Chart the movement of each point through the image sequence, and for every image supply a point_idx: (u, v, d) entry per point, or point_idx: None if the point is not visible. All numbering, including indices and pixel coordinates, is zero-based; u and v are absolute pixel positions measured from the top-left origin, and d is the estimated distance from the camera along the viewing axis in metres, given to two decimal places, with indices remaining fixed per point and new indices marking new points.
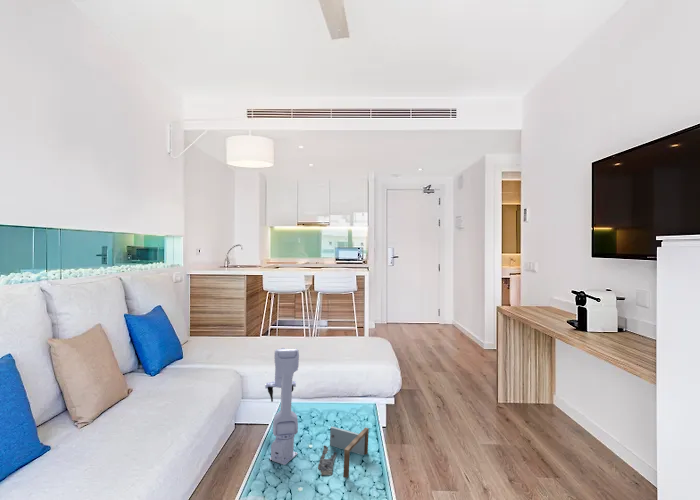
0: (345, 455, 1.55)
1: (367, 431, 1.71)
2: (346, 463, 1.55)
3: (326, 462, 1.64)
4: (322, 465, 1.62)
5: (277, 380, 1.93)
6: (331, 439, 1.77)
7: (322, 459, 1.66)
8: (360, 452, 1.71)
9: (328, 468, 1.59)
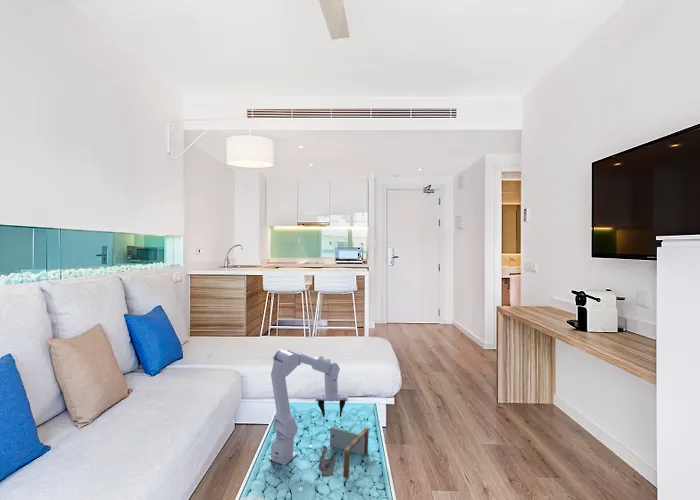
0: (345, 455, 1.55)
1: (367, 431, 1.71)
2: (346, 463, 1.55)
3: (326, 462, 1.64)
4: (322, 465, 1.62)
5: (327, 393, 1.81)
6: (331, 439, 1.77)
7: (322, 459, 1.66)
8: (360, 452, 1.71)
9: (328, 468, 1.59)
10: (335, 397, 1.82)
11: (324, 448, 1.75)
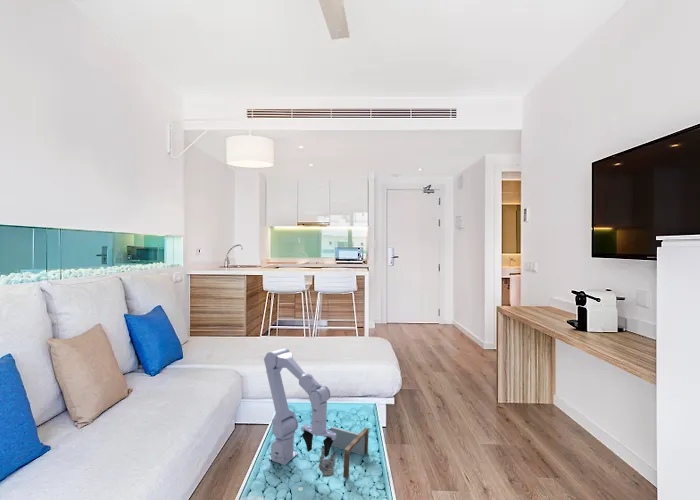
0: (345, 455, 1.55)
1: (367, 431, 1.71)
2: (346, 463, 1.55)
3: (326, 462, 1.64)
4: (323, 465, 1.61)
5: (312, 424, 1.56)
6: None
7: (322, 459, 1.66)
8: (360, 452, 1.71)
9: (329, 468, 1.59)
10: (320, 431, 1.54)
11: (323, 448, 1.75)
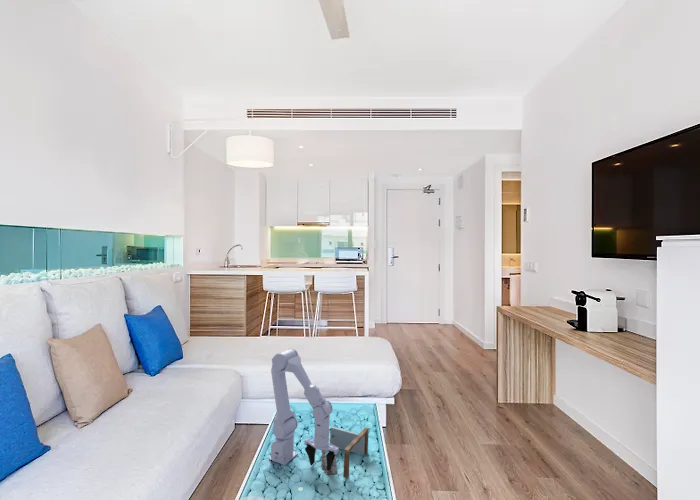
0: (345, 455, 1.55)
1: (367, 431, 1.71)
2: (346, 463, 1.55)
3: None
4: (325, 464, 1.62)
5: (314, 438, 1.58)
6: (331, 439, 1.77)
7: (323, 458, 1.67)
8: (360, 452, 1.71)
9: (332, 467, 1.60)
10: (323, 446, 1.57)
11: None
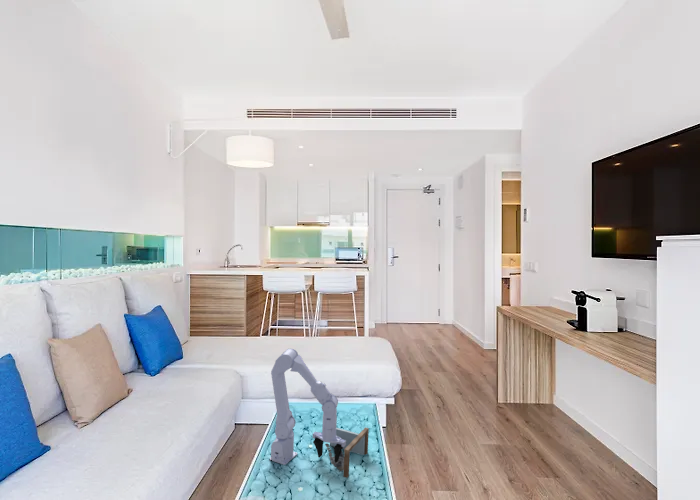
0: (345, 455, 1.55)
1: (367, 431, 1.71)
2: (346, 463, 1.55)
3: None
4: None
5: (322, 431, 1.64)
6: None
7: (331, 456, 1.69)
8: (360, 452, 1.71)
9: (343, 464, 1.63)
10: (330, 438, 1.62)
11: (327, 446, 1.77)
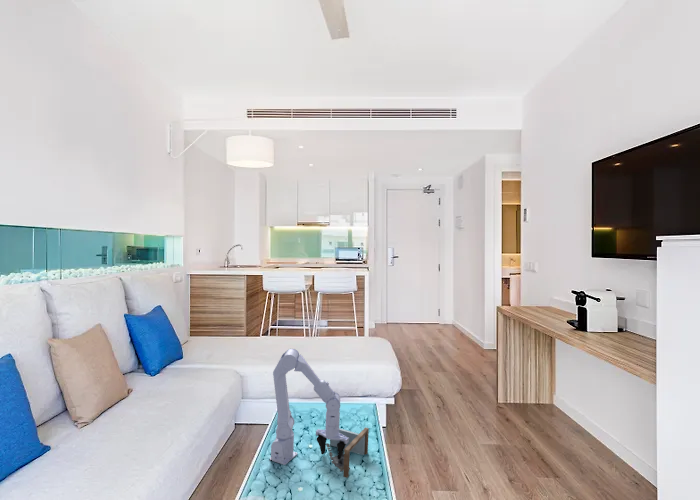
0: (345, 455, 1.55)
1: (367, 431, 1.71)
2: (346, 463, 1.55)
3: None
4: (336, 462, 1.64)
5: (326, 428, 1.66)
6: None
7: None
8: (360, 452, 1.71)
9: (343, 463, 1.63)
10: (334, 436, 1.65)
11: (328, 446, 1.77)
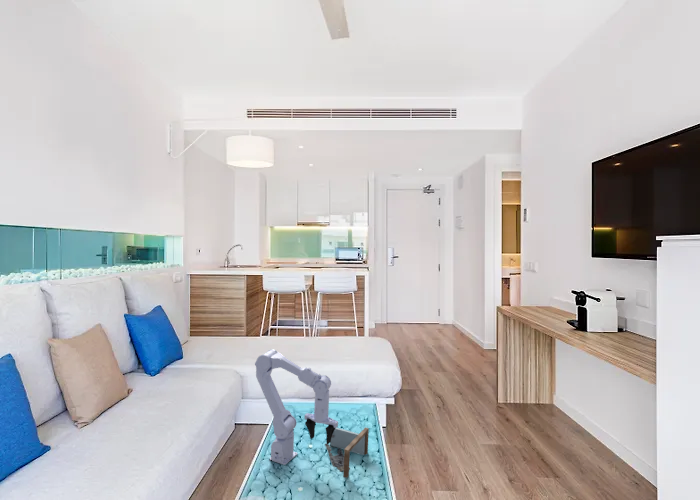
0: (345, 455, 1.55)
1: (367, 431, 1.71)
2: (346, 463, 1.55)
3: (337, 458, 1.67)
4: (335, 462, 1.64)
5: (314, 412, 1.62)
6: (331, 439, 1.77)
7: (331, 456, 1.69)
8: (360, 452, 1.71)
9: (343, 463, 1.63)
10: (322, 419, 1.61)
11: (327, 446, 1.77)
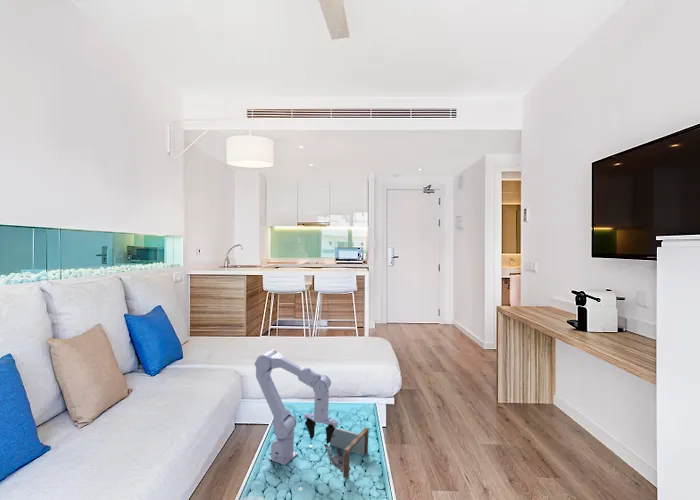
0: (345, 455, 1.55)
1: (367, 431, 1.71)
2: (346, 463, 1.55)
3: (337, 458, 1.67)
4: (336, 462, 1.64)
5: (314, 412, 1.62)
6: (331, 439, 1.77)
7: (331, 457, 1.68)
8: (360, 452, 1.71)
9: (343, 463, 1.63)
10: (322, 419, 1.61)
11: (326, 446, 1.76)
